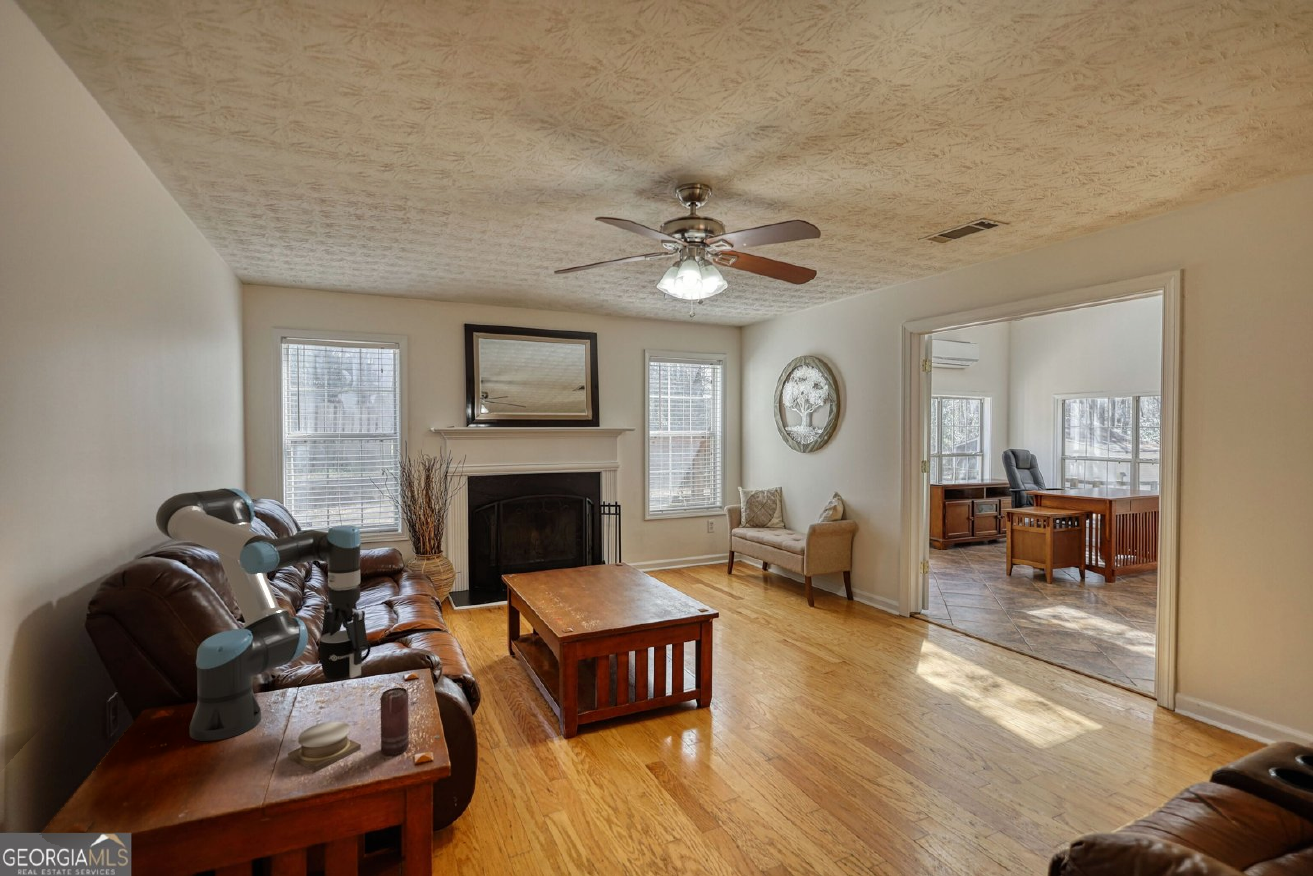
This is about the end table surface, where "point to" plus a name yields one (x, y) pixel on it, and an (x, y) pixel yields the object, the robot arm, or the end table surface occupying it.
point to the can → (394, 721)
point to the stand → (324, 745)
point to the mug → (337, 655)
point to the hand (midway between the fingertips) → (344, 671)
